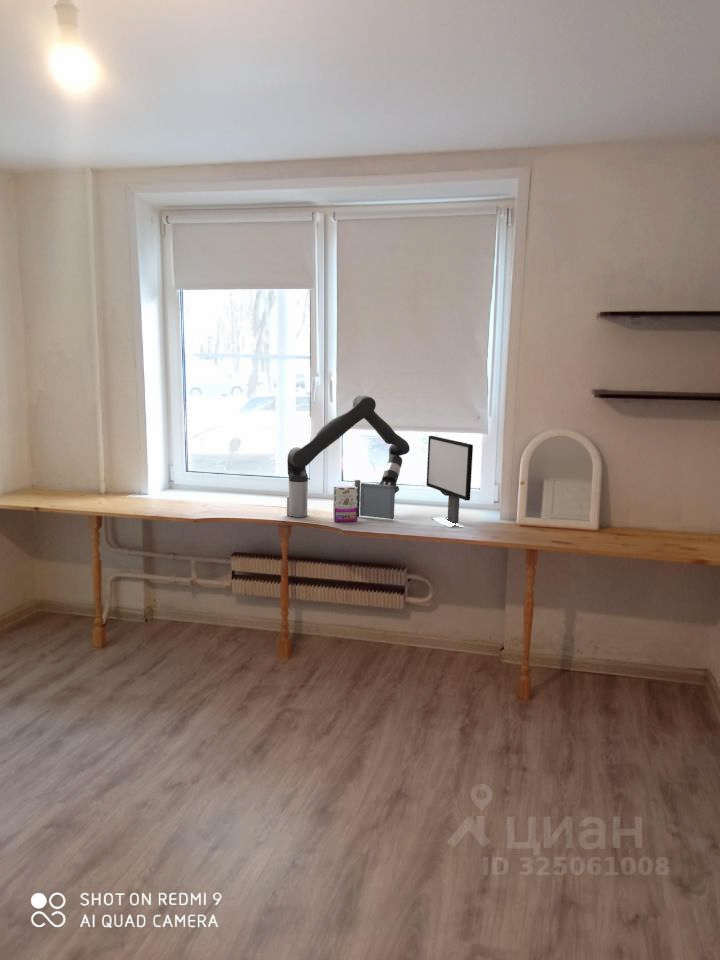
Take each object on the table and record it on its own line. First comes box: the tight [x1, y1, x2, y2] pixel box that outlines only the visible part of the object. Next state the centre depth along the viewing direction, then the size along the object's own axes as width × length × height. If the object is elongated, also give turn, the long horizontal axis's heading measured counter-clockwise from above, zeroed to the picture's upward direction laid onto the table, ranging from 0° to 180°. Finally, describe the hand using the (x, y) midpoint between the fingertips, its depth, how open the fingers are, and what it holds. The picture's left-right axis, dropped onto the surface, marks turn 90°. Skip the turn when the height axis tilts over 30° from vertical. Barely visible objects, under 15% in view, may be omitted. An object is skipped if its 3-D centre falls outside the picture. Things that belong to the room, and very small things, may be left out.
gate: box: [359, 482, 396, 520], centre depth 337 cm, size 17×2×16 cm, turn 69°
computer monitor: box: [426, 435, 474, 529], centre depth 331 cm, size 41×8×40 cm, turn 21°
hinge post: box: [353, 479, 361, 518], centre depth 341 cm, size 3×3×18 cm
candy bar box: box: [332, 486, 358, 523], centre depth 331 cm, size 11×5×16 cm, turn 101°
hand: (382, 501), depth 341 cm, fingers closed
